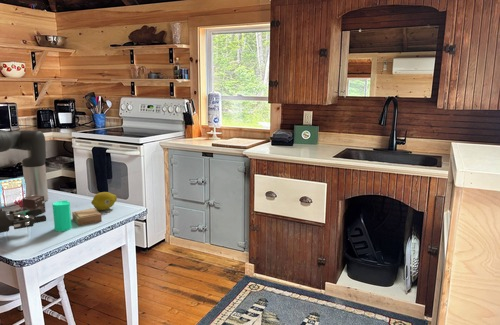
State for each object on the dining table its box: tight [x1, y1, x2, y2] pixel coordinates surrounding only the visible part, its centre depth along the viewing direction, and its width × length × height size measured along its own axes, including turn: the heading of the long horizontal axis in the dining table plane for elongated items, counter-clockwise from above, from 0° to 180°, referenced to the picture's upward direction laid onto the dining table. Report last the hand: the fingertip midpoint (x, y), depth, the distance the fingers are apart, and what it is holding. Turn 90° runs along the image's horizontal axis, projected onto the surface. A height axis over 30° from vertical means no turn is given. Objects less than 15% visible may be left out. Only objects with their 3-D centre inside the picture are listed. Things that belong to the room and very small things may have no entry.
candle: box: [52, 200, 73, 232], centre depth 147 cm, size 6×6×12 cm
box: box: [22, 195, 46, 217], centre depth 162 cm, size 6×6×7 cm
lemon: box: [91, 191, 118, 211], centre depth 169 cm, size 11×8×8 cm
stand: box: [71, 207, 102, 227], centre depth 157 cm, size 9×9×3 cm
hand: (43, 214), depth 143 cm, fingers open, 8 cm apart
